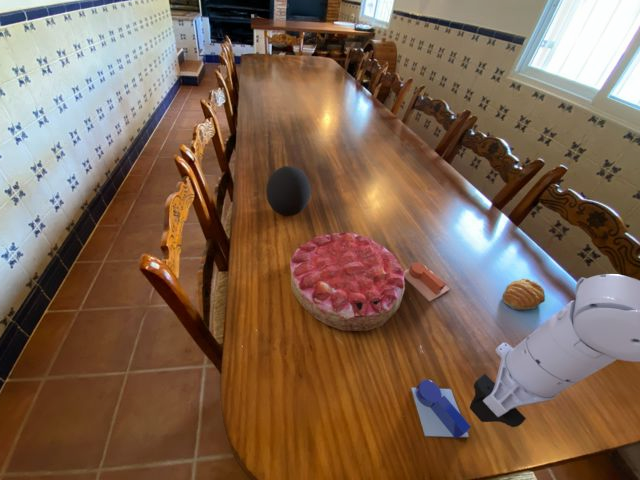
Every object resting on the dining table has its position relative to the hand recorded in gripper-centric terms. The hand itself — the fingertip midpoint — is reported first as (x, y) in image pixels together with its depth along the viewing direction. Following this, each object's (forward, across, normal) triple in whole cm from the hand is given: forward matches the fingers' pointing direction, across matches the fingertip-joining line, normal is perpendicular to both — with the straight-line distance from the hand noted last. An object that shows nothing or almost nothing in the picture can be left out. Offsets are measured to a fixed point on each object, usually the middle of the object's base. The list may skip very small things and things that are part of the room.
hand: (492, 398), depth 43 cm
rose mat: (+10, -17, -23) cm, 30 cm away
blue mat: (+9, +3, -3) cm, 10 cm away
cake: (+10, +1, -31) cm, 32 cm away
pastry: (+10, -34, -9) cm, 37 cm away
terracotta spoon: (+9, -17, -23) cm, 30 cm away
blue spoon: (+9, +3, -3) cm, 10 cm away
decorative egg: (+10, 0, -60) cm, 61 cm away
